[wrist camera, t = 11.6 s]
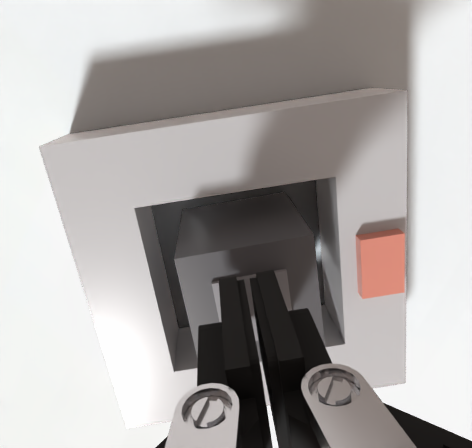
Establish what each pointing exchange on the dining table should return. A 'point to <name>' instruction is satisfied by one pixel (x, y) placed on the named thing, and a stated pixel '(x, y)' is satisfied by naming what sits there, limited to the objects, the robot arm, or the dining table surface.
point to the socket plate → (229, 181)
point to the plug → (246, 256)
